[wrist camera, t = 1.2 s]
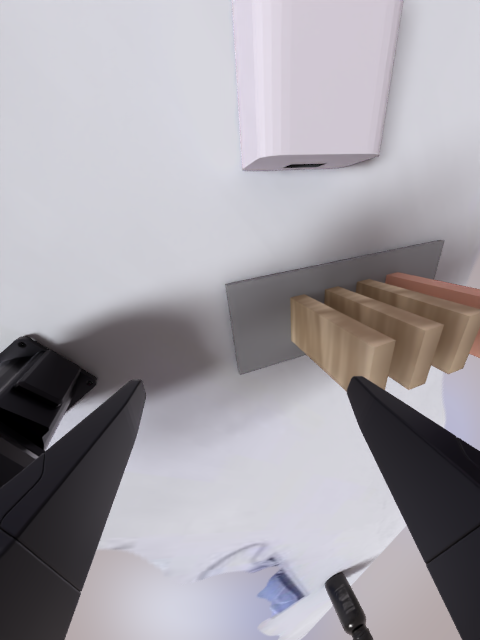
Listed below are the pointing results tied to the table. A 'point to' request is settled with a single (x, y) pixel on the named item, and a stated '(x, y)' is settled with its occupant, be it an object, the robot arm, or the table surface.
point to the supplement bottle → (347, 607)
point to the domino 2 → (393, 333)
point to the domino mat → (276, 290)
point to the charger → (313, 80)
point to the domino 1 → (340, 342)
